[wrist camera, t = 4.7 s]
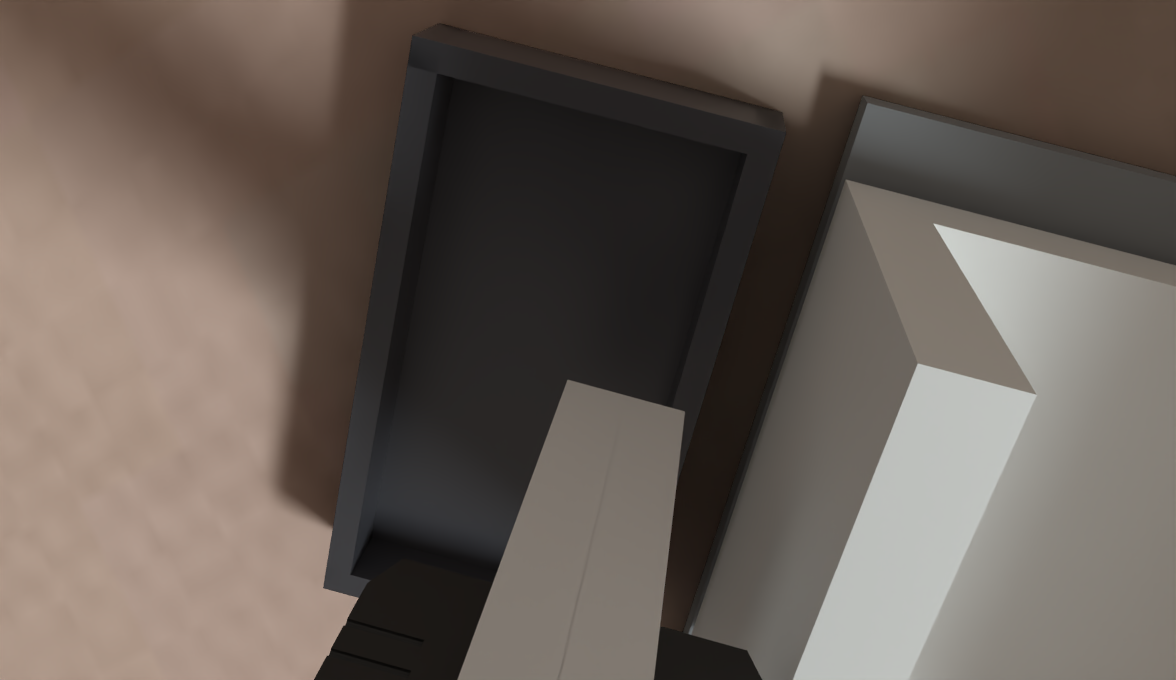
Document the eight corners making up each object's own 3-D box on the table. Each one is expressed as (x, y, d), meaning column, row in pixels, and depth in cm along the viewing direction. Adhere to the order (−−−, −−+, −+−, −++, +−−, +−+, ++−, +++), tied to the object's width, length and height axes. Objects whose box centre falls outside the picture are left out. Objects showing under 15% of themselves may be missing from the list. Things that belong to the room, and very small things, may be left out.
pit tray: (351, 540, 19) (322, 588, 18) (439, 23, 15) (412, 34, 14) (627, 616, 19) (619, 669, 17) (781, 111, 15) (786, 132, 14)
